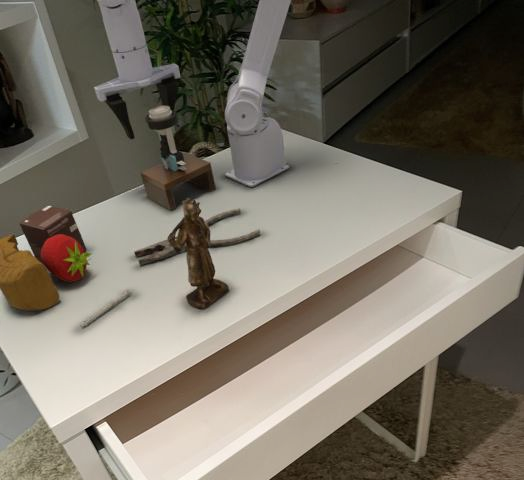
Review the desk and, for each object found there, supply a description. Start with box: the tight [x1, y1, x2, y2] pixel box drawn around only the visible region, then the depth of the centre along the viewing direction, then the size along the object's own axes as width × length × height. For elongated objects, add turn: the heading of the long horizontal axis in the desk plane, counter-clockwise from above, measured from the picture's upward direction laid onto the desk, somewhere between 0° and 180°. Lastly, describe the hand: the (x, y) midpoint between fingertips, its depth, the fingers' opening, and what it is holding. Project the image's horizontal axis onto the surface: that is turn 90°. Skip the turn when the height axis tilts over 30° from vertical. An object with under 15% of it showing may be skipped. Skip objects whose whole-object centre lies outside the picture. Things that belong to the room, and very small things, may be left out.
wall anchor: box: [79, 289, 132, 329], centre depth 79 cm, size 1×9×1 cm
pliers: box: [133, 208, 261, 266], centre depth 89 cm, size 10×1×20 cm
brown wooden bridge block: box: [140, 151, 216, 211], centre depth 102 cm, size 10×8×5 cm
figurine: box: [166, 197, 230, 310], centre depth 73 cm, size 7×4×15 cm, turn 137°
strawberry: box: [41, 234, 93, 283], centre depth 84 cm, size 6×8×10 cm
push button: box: [144, 105, 187, 171], centre depth 97 cm, size 7×5×10 cm
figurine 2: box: [0, 233, 60, 312], centre depth 84 cm, size 7×7×15 cm
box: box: [18, 205, 87, 264], centre depth 90 cm, size 6×6×7 cm
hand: (151, 130), depth 100 cm, fingers open, 7 cm apart
